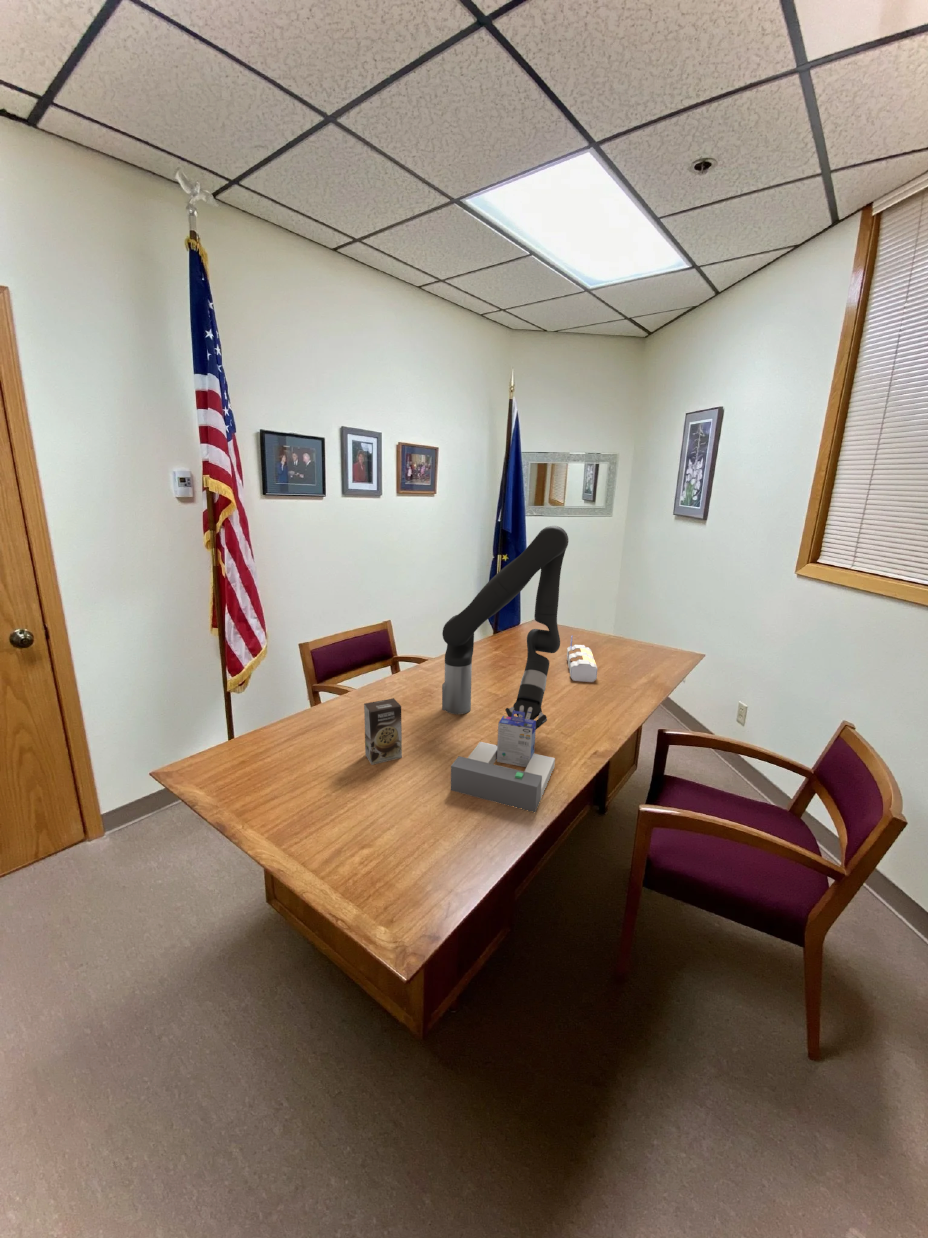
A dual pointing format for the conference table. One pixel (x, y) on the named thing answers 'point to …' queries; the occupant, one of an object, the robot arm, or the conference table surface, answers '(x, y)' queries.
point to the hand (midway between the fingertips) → (519, 743)
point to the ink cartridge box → (516, 739)
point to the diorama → (582, 664)
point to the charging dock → (501, 778)
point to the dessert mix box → (383, 731)
